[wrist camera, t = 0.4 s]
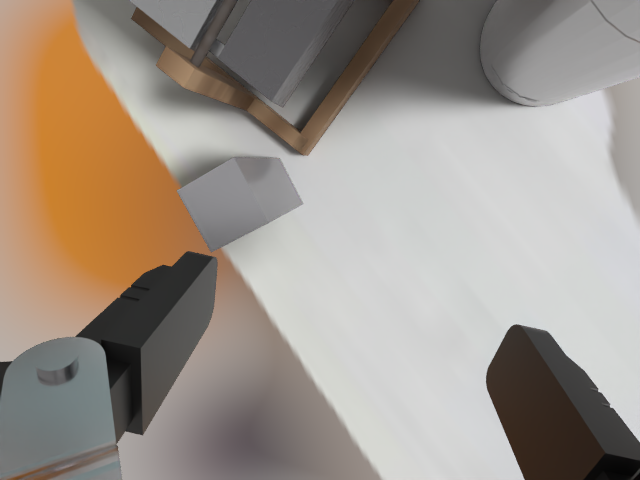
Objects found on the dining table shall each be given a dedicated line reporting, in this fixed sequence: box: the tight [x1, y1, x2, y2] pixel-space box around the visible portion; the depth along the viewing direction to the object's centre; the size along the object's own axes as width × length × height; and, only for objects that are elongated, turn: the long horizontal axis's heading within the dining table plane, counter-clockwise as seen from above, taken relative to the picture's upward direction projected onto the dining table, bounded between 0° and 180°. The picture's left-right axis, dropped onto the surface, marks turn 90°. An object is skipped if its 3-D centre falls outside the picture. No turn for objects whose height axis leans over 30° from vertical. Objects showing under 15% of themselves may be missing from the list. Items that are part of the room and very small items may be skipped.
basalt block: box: [177, 157, 303, 252], centre depth 27 cm, size 4×4×10 cm
